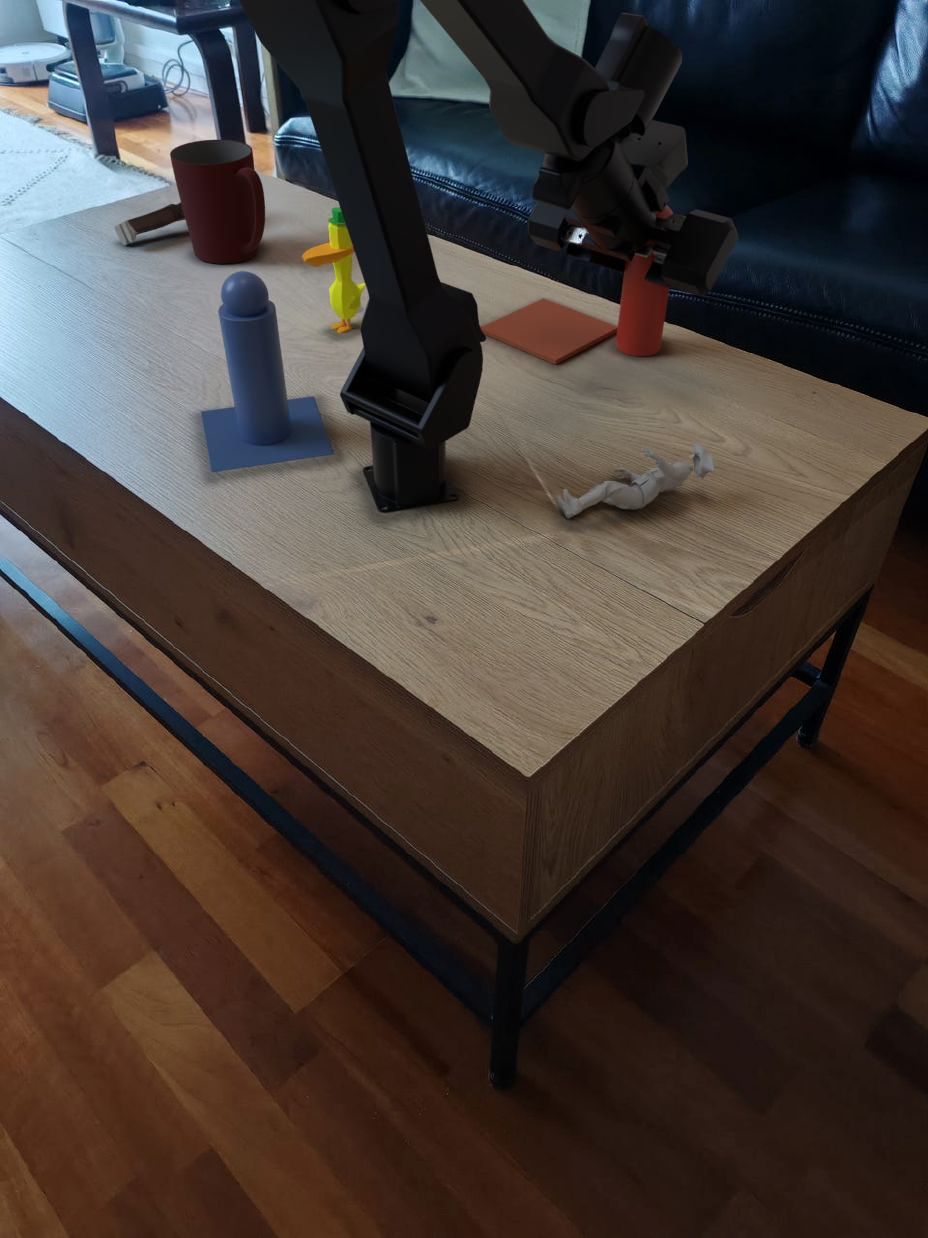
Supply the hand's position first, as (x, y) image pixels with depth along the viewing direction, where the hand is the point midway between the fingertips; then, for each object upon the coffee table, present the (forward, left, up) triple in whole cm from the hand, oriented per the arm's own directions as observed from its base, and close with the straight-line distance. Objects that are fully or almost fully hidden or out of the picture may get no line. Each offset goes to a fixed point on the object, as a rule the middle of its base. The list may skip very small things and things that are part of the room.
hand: (654, 277), depth 93 cm
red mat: (+5, +9, -7) cm, 12 cm away
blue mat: (-8, +39, -7) cm, 40 cm away
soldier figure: (-26, +13, -7) cm, 30 cm away
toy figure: (+10, +29, -7) cm, 31 cm away
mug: (+33, +37, -7) cm, 50 cm away
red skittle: (-1, +1, -7) cm, 7 cm away
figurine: (+41, +42, -7) cm, 59 cm away
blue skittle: (-8, +39, -6) cm, 40 cm away
